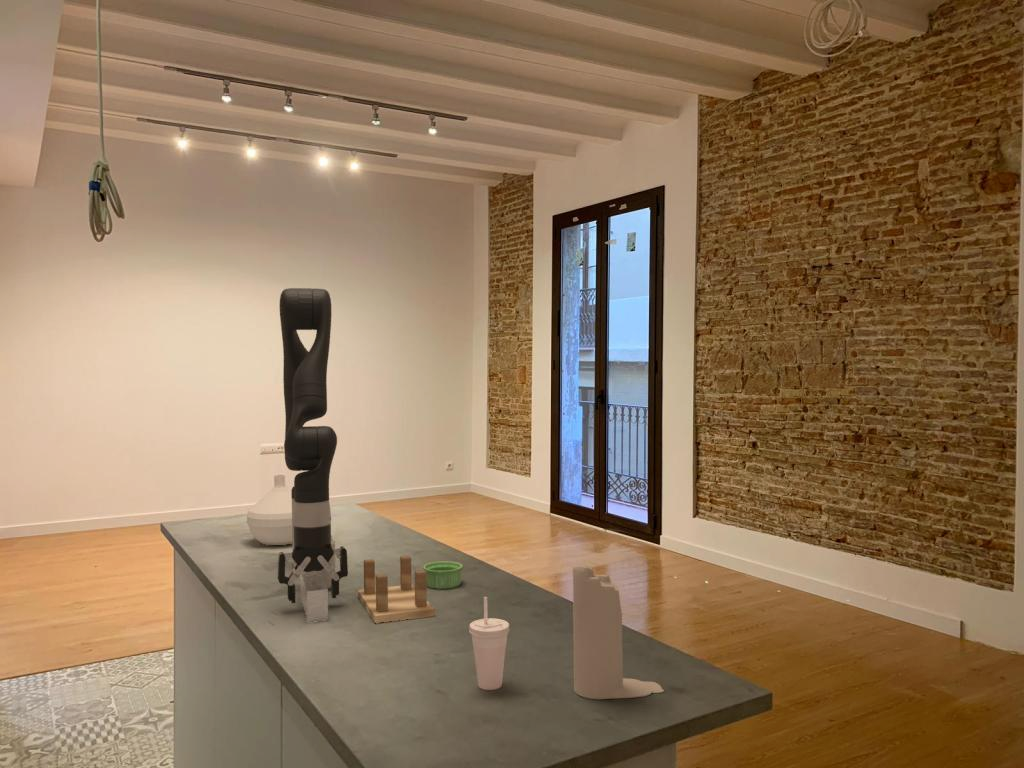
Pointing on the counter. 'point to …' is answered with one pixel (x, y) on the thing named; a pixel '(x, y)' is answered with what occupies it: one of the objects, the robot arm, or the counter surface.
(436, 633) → the counter surface
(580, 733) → the counter surface
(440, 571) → the ramekin
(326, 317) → the robot arm
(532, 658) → the counter surface
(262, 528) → the vase
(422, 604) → the rack
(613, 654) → the candle
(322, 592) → the pale beige plank
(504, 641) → the smoothie
